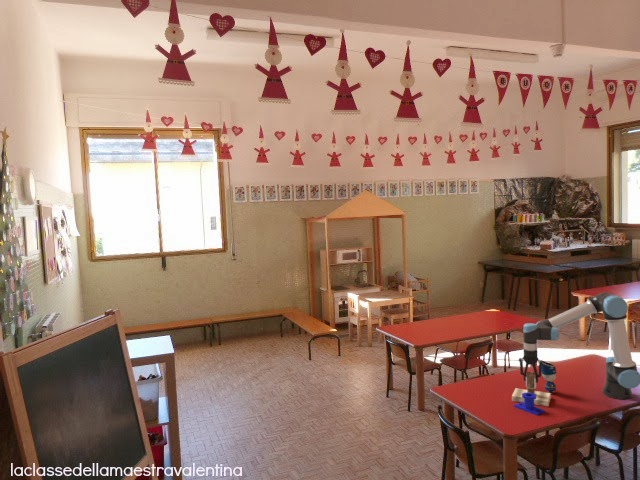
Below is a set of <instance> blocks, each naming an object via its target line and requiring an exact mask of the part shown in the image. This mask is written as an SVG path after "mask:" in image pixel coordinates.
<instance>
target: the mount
mask: <svg viewBox="0 0 640 480" xmlns="http://www.w3.org/2000/svg"><path fill="white" fill-rule="evenodd" d="M522 397H523V398H524V403H523V402H518V403H515V404H513V407H514V408H517V409H518V410H521V411H523V412H526V413H529V414H531V415H534V416H539V414H540V415H541V414H544V413H546V410H545V409H542V408H539V407H537V406H535V404H534V399H536V395H535V394H533V393H523V394H522Z"/></svg>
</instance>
